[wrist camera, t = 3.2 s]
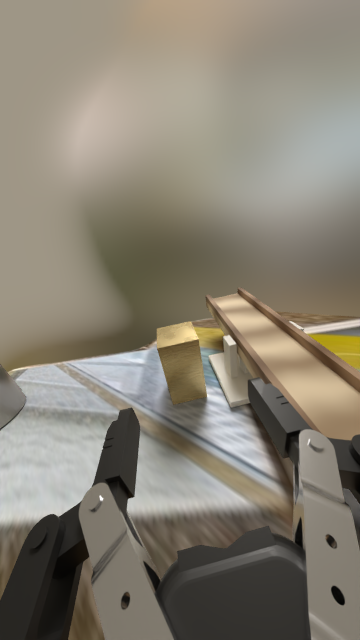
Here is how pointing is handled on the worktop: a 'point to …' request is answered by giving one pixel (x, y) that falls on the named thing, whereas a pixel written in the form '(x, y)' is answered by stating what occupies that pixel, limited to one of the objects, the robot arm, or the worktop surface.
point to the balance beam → (292, 364)
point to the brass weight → (181, 362)
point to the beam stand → (233, 372)
